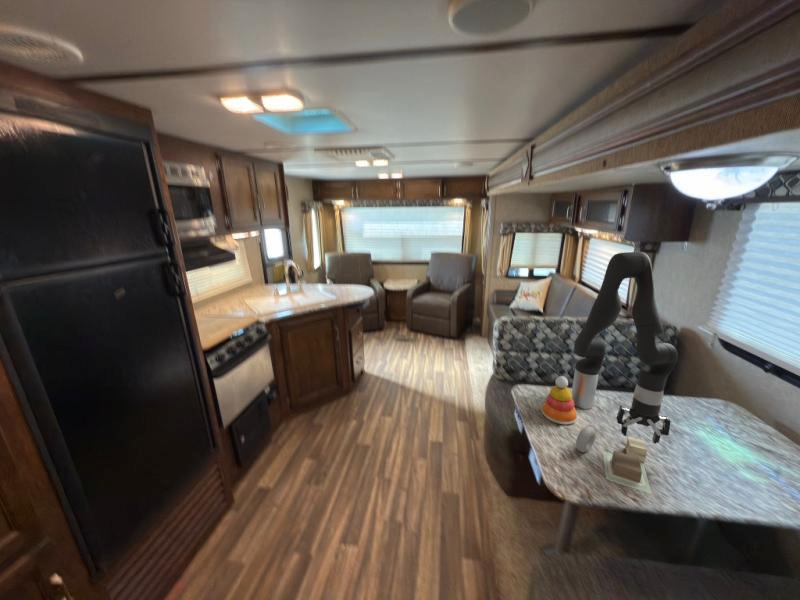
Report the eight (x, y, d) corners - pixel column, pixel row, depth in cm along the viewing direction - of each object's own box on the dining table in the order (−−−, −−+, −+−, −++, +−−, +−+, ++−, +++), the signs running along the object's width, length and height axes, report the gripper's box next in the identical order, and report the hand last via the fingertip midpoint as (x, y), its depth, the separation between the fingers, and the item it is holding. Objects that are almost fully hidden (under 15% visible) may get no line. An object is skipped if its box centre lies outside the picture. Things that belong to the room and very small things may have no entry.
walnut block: (611, 459, 108) (613, 450, 107) (636, 467, 104) (638, 457, 103) (613, 474, 102) (615, 464, 101) (639, 482, 98) (642, 472, 97)
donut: (581, 459, 109) (585, 436, 107) (572, 453, 112) (575, 430, 109) (595, 447, 115) (599, 425, 112) (585, 442, 117) (589, 420, 115)
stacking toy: (569, 407, 138) (575, 369, 133) (583, 428, 125) (590, 386, 119) (536, 405, 140) (541, 367, 135) (546, 425, 127) (552, 384, 121)
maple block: (624, 449, 113) (627, 436, 111) (641, 454, 111) (644, 441, 109) (626, 459, 109) (629, 445, 107) (644, 464, 107) (647, 450, 105)
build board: (602, 452, 112) (602, 450, 112) (642, 464, 106) (643, 462, 106) (605, 481, 100) (606, 478, 100) (651, 496, 95) (651, 493, 94)
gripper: (671, 398, 103) (661, 438, 107) (620, 387, 110) (613, 425, 114) (677, 410, 96) (667, 452, 101) (623, 398, 103) (615, 438, 107)
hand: (638, 438), depth 107 cm, fingers open, 8 cm apart
